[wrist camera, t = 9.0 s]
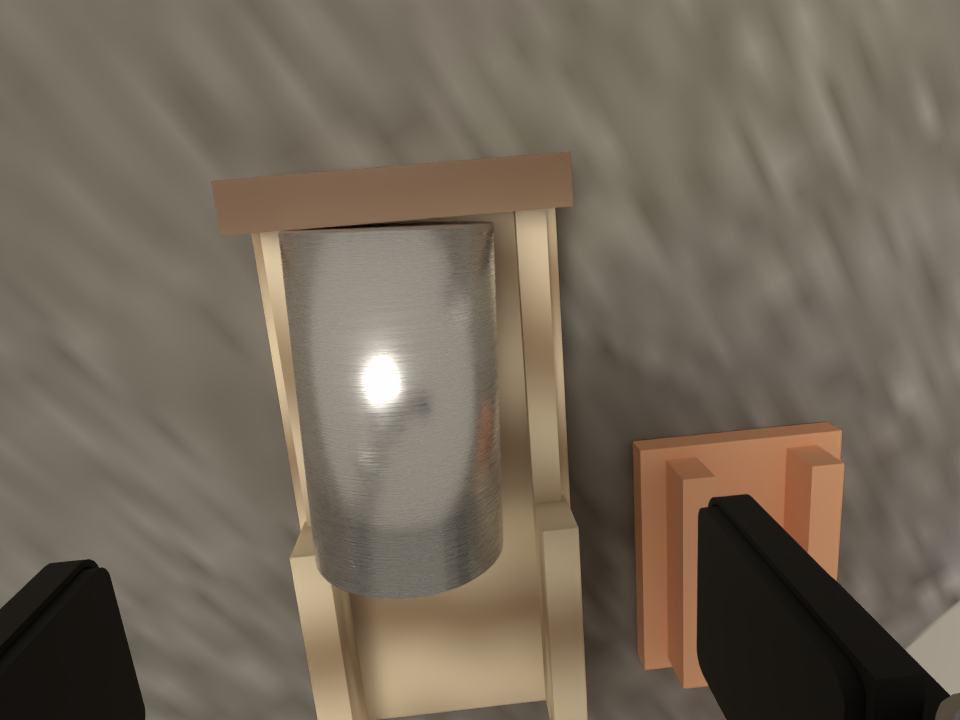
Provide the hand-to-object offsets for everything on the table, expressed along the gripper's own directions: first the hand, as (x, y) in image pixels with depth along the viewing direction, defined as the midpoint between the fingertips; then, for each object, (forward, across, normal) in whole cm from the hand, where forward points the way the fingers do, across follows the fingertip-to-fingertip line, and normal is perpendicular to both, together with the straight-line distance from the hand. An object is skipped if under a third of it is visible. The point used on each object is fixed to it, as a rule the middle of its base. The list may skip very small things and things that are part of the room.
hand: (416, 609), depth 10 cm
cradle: (+15, -12, +9) cm, 21 cm away
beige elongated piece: (+15, 0, +4) cm, 15 cm away
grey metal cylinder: (+13, 0, 0) cm, 13 cm away
